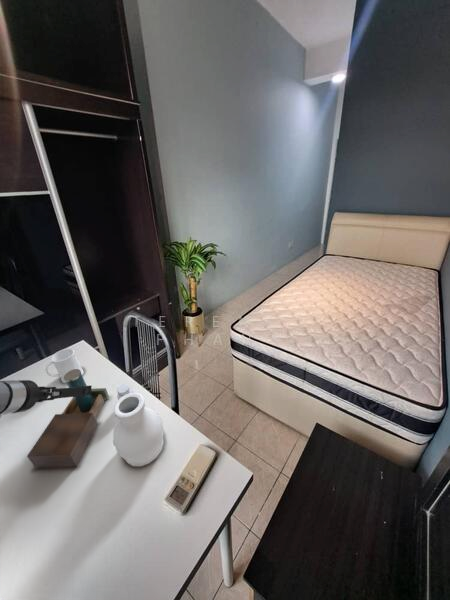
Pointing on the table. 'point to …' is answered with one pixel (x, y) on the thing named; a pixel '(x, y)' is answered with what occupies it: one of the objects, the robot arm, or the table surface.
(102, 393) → the drawer
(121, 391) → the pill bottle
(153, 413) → the vase
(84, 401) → the tin
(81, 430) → the drawer cabinet
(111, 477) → the table surface
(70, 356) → the mug
